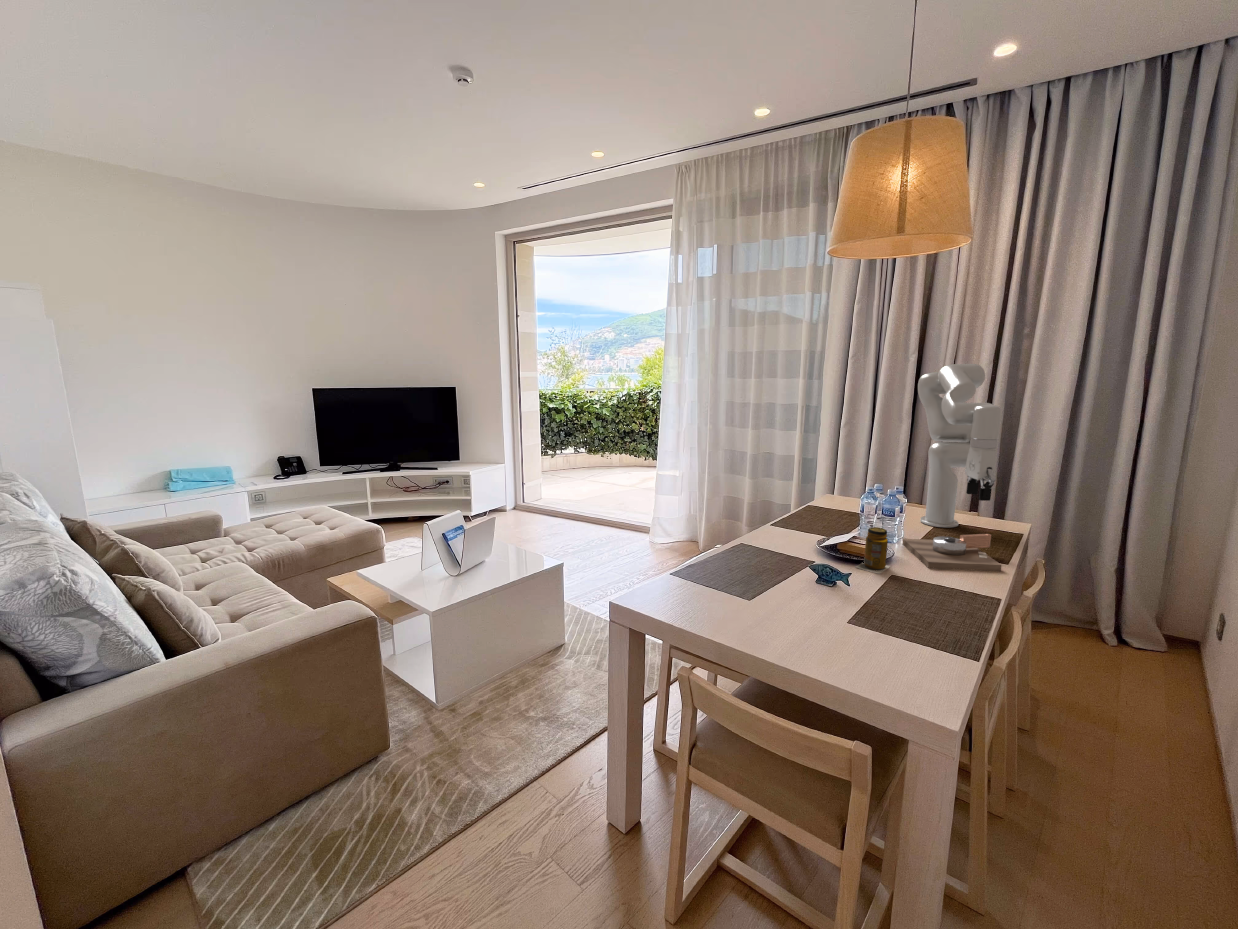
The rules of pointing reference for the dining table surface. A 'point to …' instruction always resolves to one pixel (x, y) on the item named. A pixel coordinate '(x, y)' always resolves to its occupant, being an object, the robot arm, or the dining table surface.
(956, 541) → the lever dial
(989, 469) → the robot arm
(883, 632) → the dining table surface
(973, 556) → the wooden cutting board
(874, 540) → the condiment
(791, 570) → the dining table surface
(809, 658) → the dining table surface
